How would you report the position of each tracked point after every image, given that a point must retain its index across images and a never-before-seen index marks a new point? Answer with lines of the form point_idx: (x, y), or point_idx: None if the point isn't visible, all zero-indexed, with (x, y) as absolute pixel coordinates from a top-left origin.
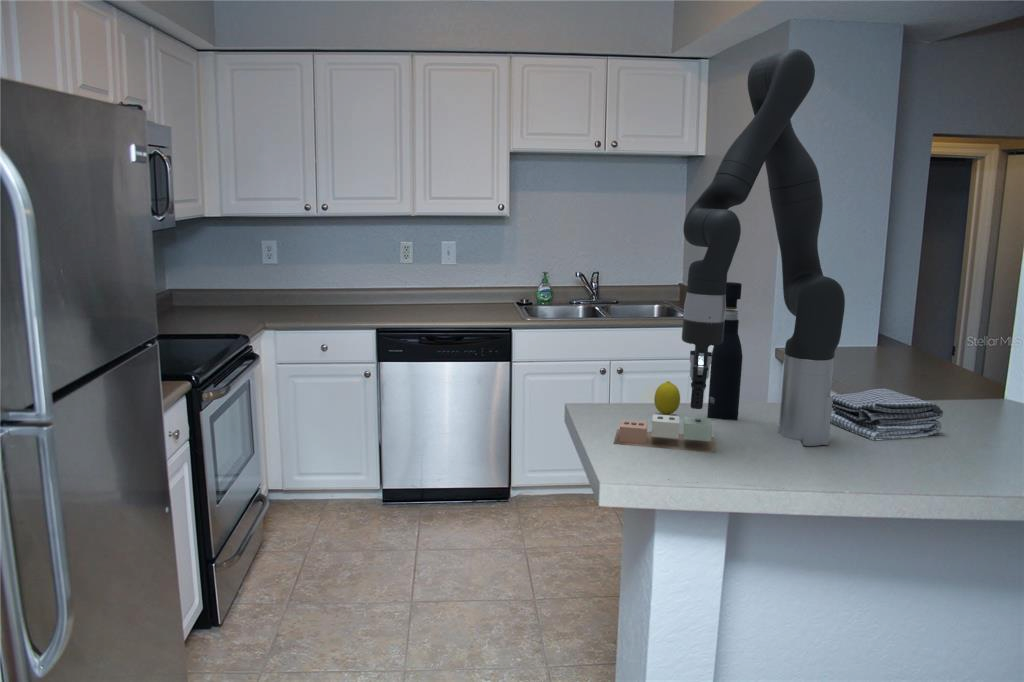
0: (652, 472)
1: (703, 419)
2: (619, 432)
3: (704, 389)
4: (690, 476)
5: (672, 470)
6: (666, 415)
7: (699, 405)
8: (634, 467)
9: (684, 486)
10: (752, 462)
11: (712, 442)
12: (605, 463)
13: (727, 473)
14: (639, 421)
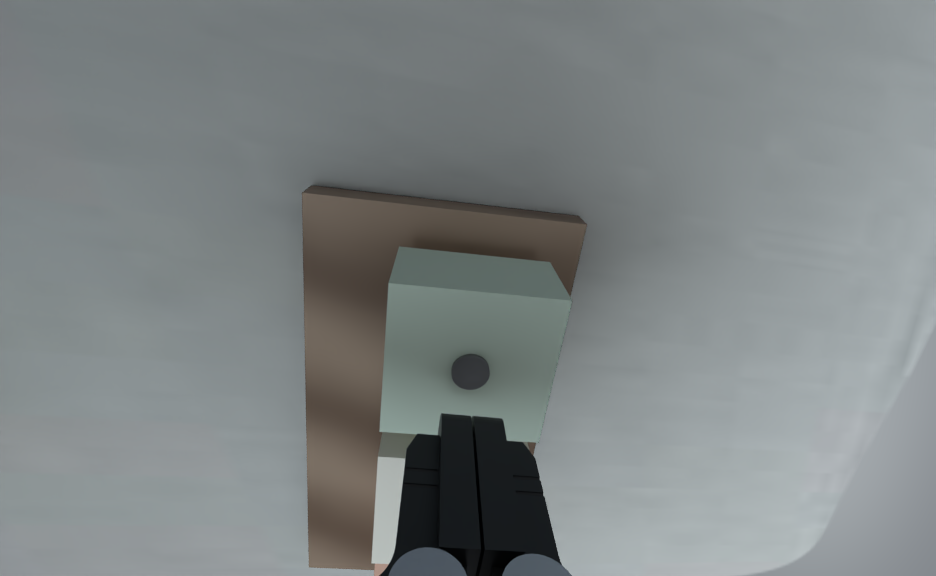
0: (737, 457)
1: (421, 334)
2: (354, 561)
3: (562, 568)
4: (795, 346)
5: (722, 399)
6: (377, 512)
7: (528, 458)
8: (682, 502)
9: (892, 375)
10: (630, 24)
11: (415, 218)
12: (641, 568)
13: (783, 196)
14: (381, 568)
